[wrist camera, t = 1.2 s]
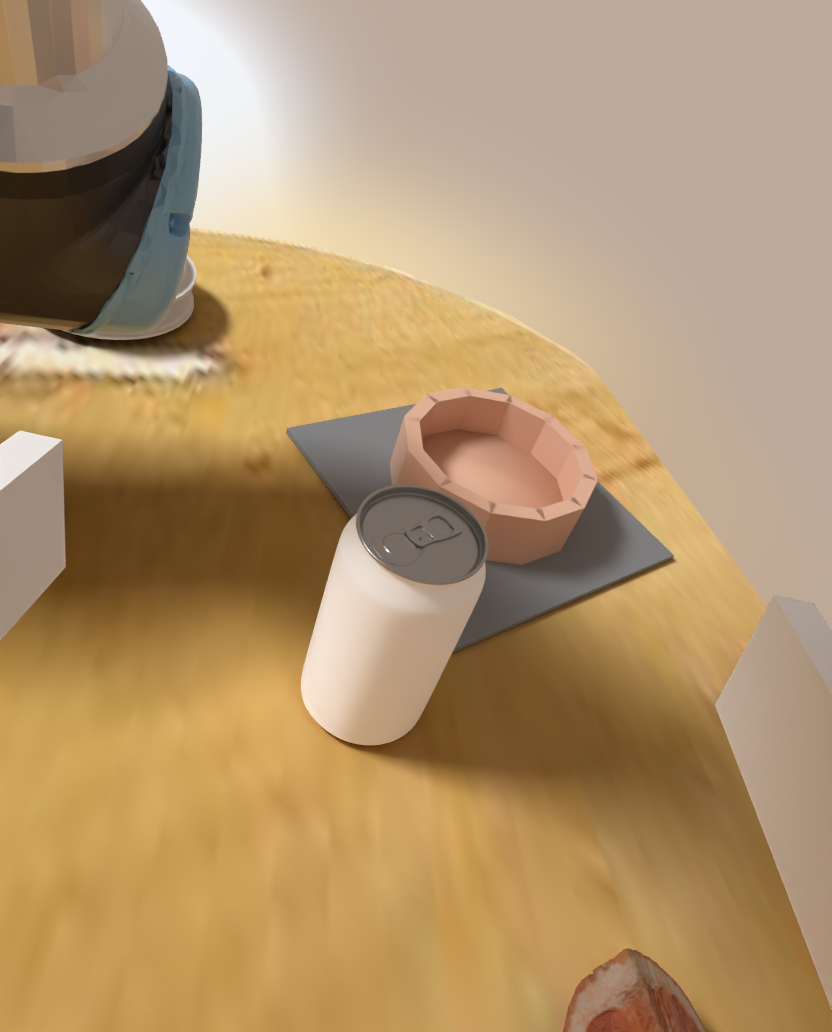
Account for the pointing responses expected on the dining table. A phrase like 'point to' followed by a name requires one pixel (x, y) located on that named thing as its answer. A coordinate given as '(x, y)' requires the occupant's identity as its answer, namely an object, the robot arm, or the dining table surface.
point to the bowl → (498, 468)
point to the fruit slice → (630, 999)
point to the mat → (508, 587)
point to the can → (392, 612)
